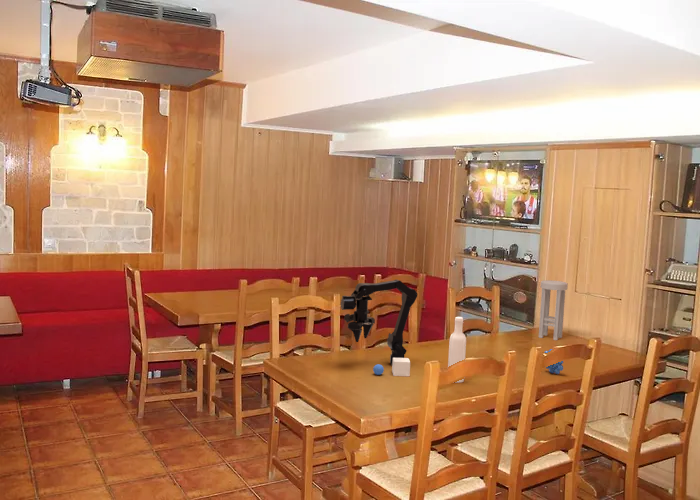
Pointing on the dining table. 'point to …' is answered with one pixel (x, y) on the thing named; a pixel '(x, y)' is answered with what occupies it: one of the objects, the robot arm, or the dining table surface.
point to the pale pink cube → (401, 367)
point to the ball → (378, 369)
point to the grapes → (555, 366)
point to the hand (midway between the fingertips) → (361, 340)
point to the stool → (559, 311)
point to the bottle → (457, 344)
